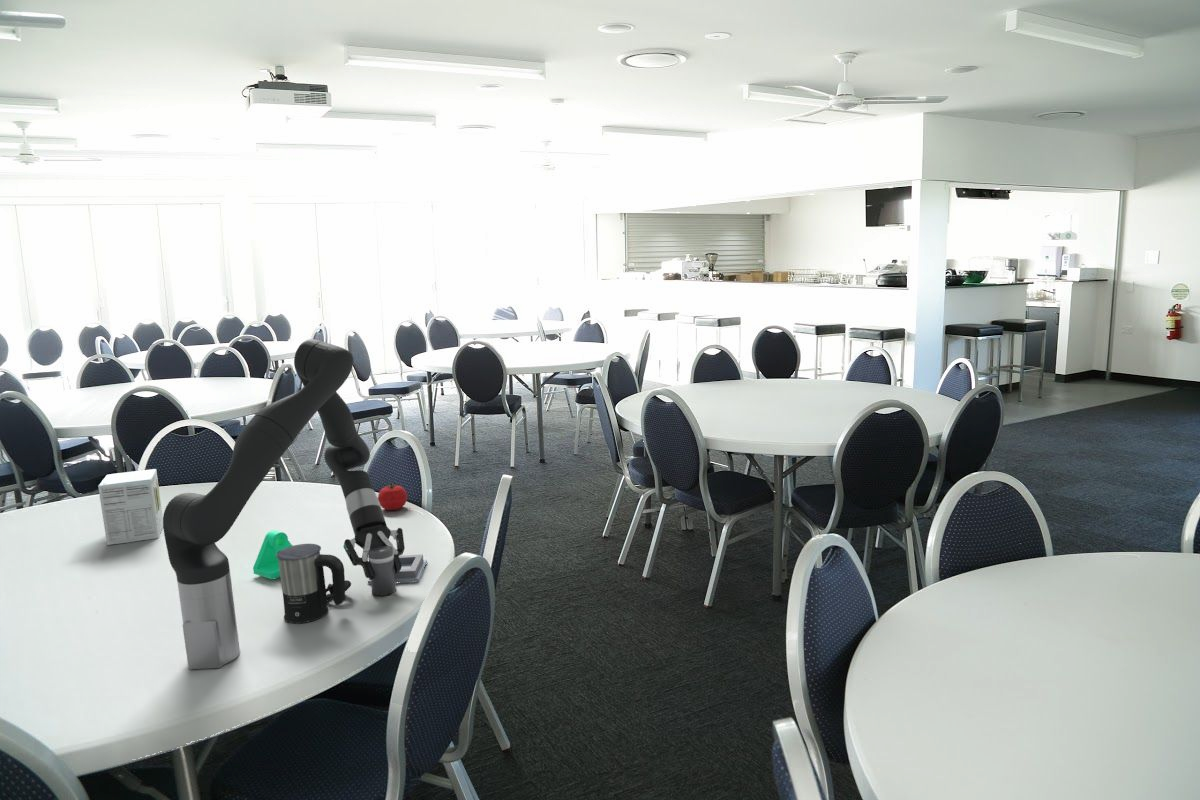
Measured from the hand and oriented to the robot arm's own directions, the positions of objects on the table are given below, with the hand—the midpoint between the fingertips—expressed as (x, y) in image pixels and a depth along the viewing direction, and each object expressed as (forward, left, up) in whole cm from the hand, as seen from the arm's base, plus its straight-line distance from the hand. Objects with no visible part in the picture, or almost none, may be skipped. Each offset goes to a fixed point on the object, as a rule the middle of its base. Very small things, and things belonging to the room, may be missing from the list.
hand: (384, 574), depth 186 cm
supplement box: (+52, +83, -5) cm, 98 cm away
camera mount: (+17, +29, -5) cm, 34 cm away
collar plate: (+13, 0, -5) cm, 13 cm away
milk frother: (-5, +14, -5) cm, 16 cm away
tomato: (+65, +12, -5) cm, 66 cm away
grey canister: (+2, +1, -4) cm, 5 cm away
